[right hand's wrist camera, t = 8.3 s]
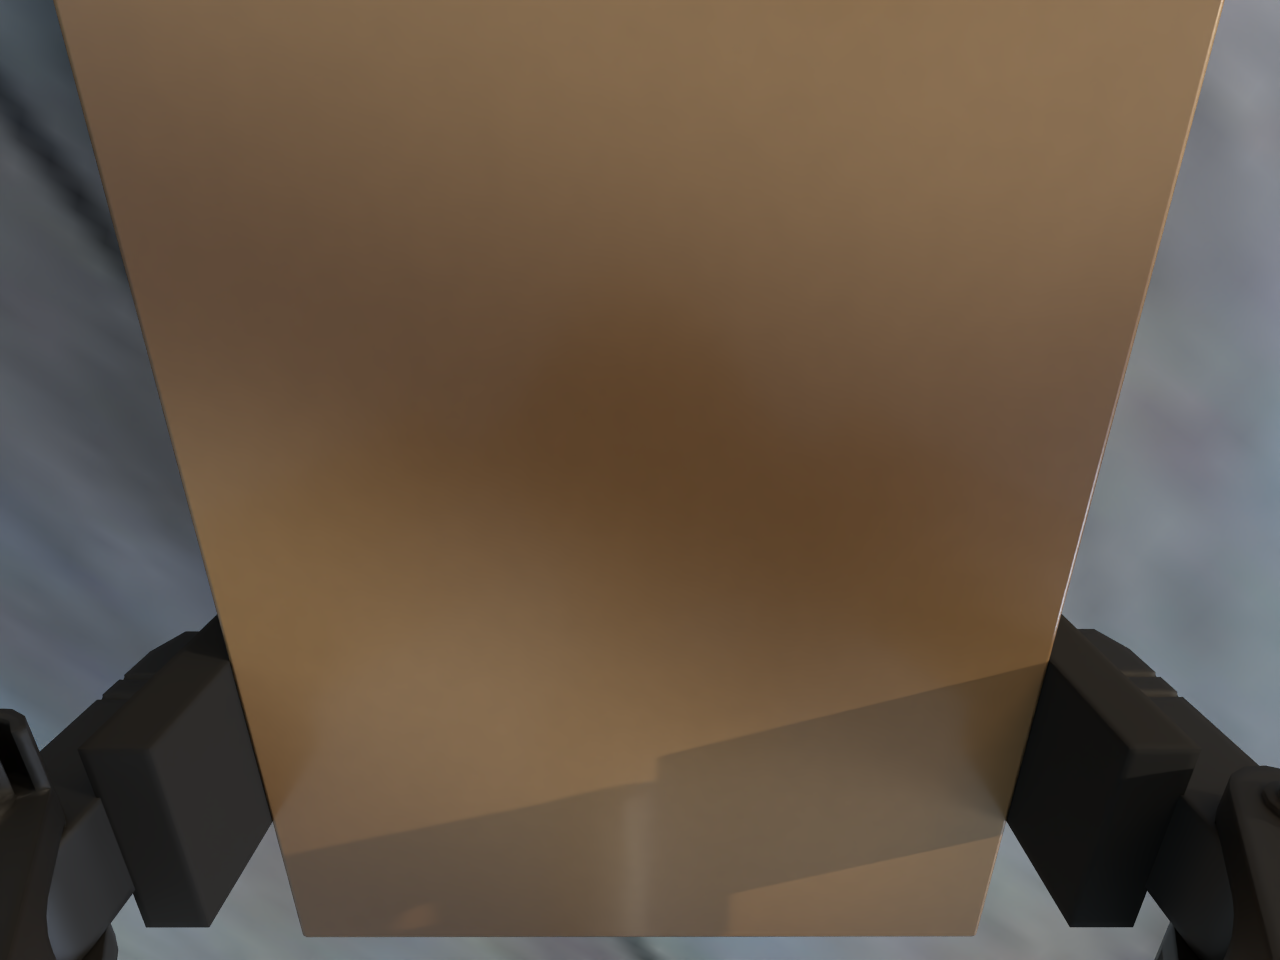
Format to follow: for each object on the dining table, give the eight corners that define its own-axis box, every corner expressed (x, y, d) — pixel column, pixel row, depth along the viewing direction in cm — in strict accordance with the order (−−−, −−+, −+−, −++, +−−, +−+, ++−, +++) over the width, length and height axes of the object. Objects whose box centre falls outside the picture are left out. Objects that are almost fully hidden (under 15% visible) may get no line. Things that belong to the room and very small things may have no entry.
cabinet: (341, -251, 12) (-274, -1196, 4) (935, -250, 12) (1547, -1193, 4) (448, 622, 18) (302, 939, 10) (830, 621, 18) (977, 939, 10)
